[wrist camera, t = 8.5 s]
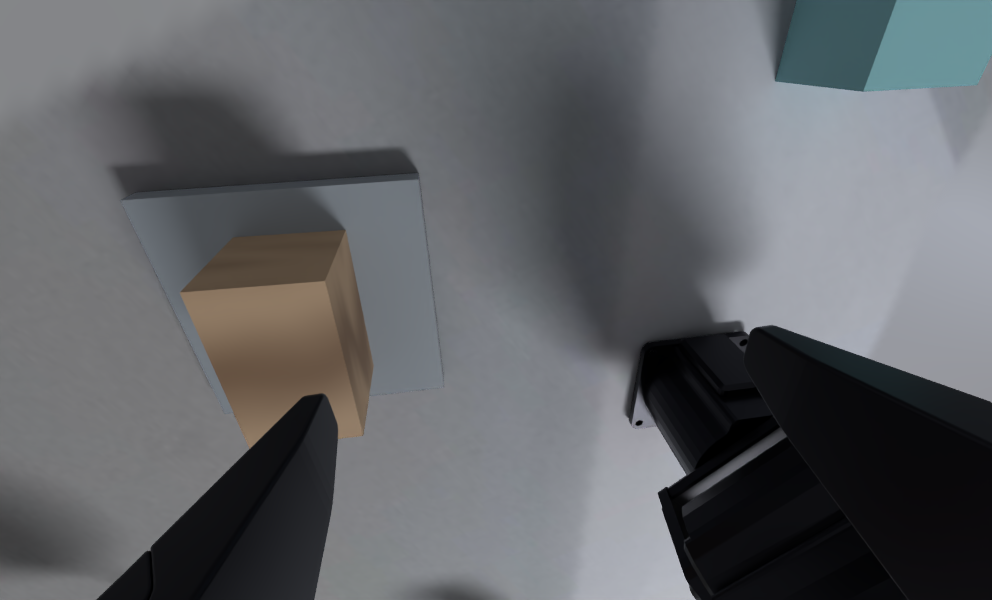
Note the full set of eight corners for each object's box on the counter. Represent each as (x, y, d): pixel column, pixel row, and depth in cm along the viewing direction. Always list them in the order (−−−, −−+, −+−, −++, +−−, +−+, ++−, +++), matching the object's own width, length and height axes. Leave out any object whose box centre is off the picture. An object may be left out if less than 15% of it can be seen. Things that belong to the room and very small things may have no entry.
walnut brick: (373, 365, 22) (363, 435, 18) (281, 375, 21) (249, 449, 17) (345, 229, 18) (325, 280, 14) (233, 237, 17) (179, 292, 14)
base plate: (443, 374, 24) (444, 387, 23) (232, 400, 23) (224, 413, 22) (418, 172, 18) (418, 179, 17) (135, 192, 17) (120, 200, 16)
